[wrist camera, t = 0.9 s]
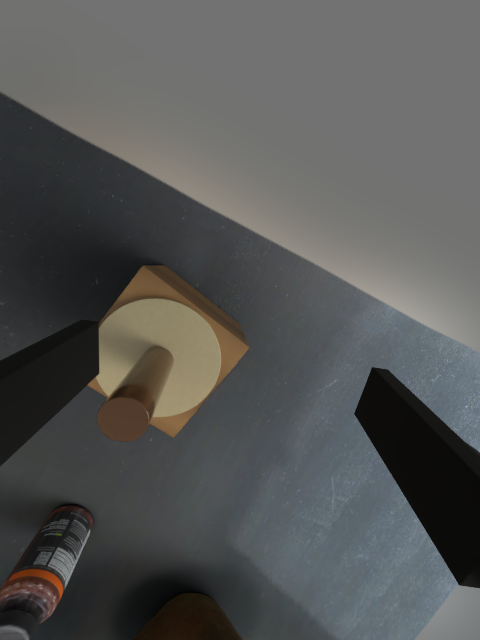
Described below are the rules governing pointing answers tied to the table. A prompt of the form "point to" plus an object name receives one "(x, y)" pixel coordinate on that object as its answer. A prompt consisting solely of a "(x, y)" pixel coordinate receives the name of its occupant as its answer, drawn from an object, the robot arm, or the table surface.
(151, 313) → the lid
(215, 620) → the bowl
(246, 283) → the table surface
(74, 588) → the table surface
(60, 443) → the table surface
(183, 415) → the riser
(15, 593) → the supplement bottle
